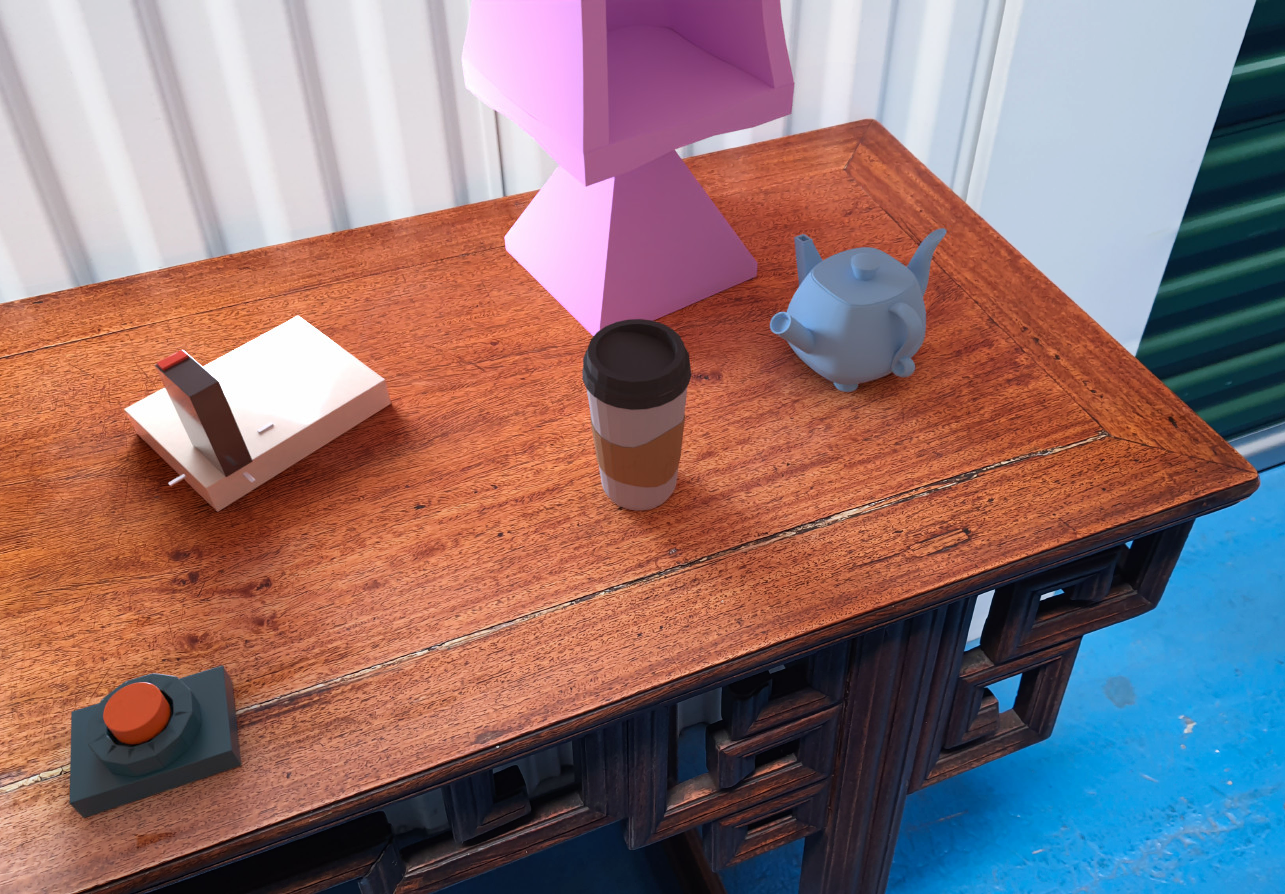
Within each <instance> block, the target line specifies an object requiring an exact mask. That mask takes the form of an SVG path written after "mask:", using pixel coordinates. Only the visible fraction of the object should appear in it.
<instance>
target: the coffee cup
mask: <svg viewBox="0 0 1285 894" xmlns="http://www.w3.org/2000/svg"><path fill="white" fill-rule="evenodd" d="M581 374H582V381H583V384H584V386H585V388H586V389H585V390H586V394H587V400H588V405H589V406H588V407H589V413H590V427H591V432H592V438H593V444H594V445H593V446H594V451H595V458H596V462H597V464H598V469H599V470H598V471H599V475H600V483H601V486H602V489H603V493H605V495H606V496H607V497H608V498H609V499H610V500H611V502H613V504H616V505H617V506H618V507H621V508H623V509H625V510H629V511H630V510H631V511H637V512H638V511H649V510H652V509H655V508H657V507H659V506H661V505H662V504H664V503H665V502H666V501H667V500H669V498H670V497H671V496H672V495H673V493H674V491H675V490H676V486H677V484H678V483H677V482H678V474H679V467H680V466H679V465H680V461H681V457H682V447H683V439H684V432H685V431H684V430H685V422H686V404H687V396H688V386H689V385H690V383H691V378H692V368H691V359H690V353H689V350H688V349H687V347H686V346H685V343H684V341H683V339H682V337H681V335H680V334H679V333H678V332H676V331H675V329H673V328H672V327H670V326H668V325H666V324H664V323H661V322H658V321H655V320H653V321H652V320H644V319H630V320H624V321H619V322H615V323H613V324H610V325H608V326H606V327H604V328H603V329H601V330H600V331H598V332H597V333H596V334H595V335H594V336H593V335H592V338H590V340H589V343H588V346H587V348H586V349H585V353H584V356H583V359H582V373H581Z"/></svg>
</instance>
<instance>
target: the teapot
mask: <svg viewBox="0 0 1285 894" xmlns="http://www.w3.org/2000/svg"><path fill="white" fill-rule="evenodd" d="M946 234H947V229H946V228H944V227H942V228H938V229H935V230H933V231H931V232H930V233H929V234H928V235H927V236H926V237H924V239H923V240H922V241H921V242H920V244H919V246H918V247H917V249H916V251H915V252H914V254H913V256H912V257H911V259H910V261H909V262H908V264H907V265H905V264H903V263H902V262H901V261H899V260H898V259H896V258H895V257H893V256H891V255H890V254H888V253H887V252H885V251H882V250H881V249H878V248H876V247H869V246H865V247H863V246H862V247H856V248H851V249H847V250H843V251H840V252H838V253H834V254H833V255H830V256H828V257H827V258H825V259H822V257H821V255H820V252H819V251H818V249H817V247H816V245H815V243H814V242H813V241H814V239H813V238H811V237H809V236H808V235H806V233H802V234H799V235H796V236H794V237H793V238H794V239H793V240H794V250H795V251H794V252H795V259H796V269H797V280H798V287H797V289H796V291H795V292H794V294H793V295H792V298H791V300H790V302H789V304H788V307H787V309H786V311H779V312H776V313H775V314H774V315H773V316H772V317H771V319H770V322H769V329H770V331H771V332H772V334H773V333H774V334H775V335H776V336H778V337H779V338H782V339H783V340H784V341H786V342H787V343H788V345H789V347H790V348H791V349H792V351H793V353H795V355H796V356H797V357H798V358H799V359H800V360H801V361H802V362H803V363H804V364H805V365H807V366H808V367H809V368H810V369H812V370H813V371H814V372H815V373H816V374H818V375H819V376H821V377H823V378H825V379H826V380H828V381H830V382H831V383H833V386H834V387H835V388H836V389H837V390H838V391H840V392H844V393H851V392H854V391H856V390H857V389H858V387H859V384H864V383H867V382H872V381H875V380H878V379H880V378H884V377H886V376H888V375H889V374H891V373H893V375H895V376H897V377H899V378H909V377H911V376H912V375H913V374H914V373H915V371H916V365H915V361H913V359H912V358H913V357H914V356H915V355H916V354H917V353H918V351H919V350H920V348H921V347H922V346H923V344H924V341H925V337H926V331H927V330H926V329H927V311H926V305H925V301H924V296H925V294H926V291H927V288H928V284H929V278H930V272H931V271H930V270H931V265H932V259H933V256H934V253H935V251H936V249H937V247H938V245H939V244H940V243H941V241H942V240H943V239H944V238H945V236H946Z"/></svg>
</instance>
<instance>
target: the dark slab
mask: <svg viewBox="0 0 1285 894" xmlns="http://www.w3.org/2000/svg"><path fill="white" fill-rule="evenodd" d="M203 367H204V366H202V365H201V364H200V363H199V362H198V361H197V360H195V359H194V357H192V356H191V355H190V354H188V353H187V352H186V351H185V350H184V349H180V350H178V351H176V352H174V353H172V354H170V355H169V356H167V357H165V358H163V359H161V360H159V361H157V362H156V364H154V368H155V370H156V372H157V374H158V376H159V378H160V380H161V382H162V384H163V387H165V389H166V391H167V393H168V395H169V397H170V399H171V401H172V403H173V405H174V407H175V409H176V412H177V414H178V416H179V418H180V420H181V422H182V424H183V426H184V428H185V430H186V433H187V435H188V437H189V439H190V441H191V443H192V445H193V446H194V447H195V448H196V449H197V450H198V451H199V452H200V453H201V454H202V455H203V456H204V457H205V458H206V459H207V460H209V461H210V462H211V463H212V464H213V465H214V466H215V467H216V468H217V469H218V470H219V471H220V472H221V473H222V474H223V475H224V476H225V477H228V476H230V475H231V474H233V473H234V472H236V471H238V470H239V469H241V468H243V467H244V466H246V465H248V464H249V463H251V462H253V460H252V458H251V456H250V453H249V451H248V449H247V446H246V444H245V441H244V439H243V437H242V434H241V432H240V430H239V427H238V425H237V423H236V420H235V418H234V415H233V413H232V411H231V408H230V406H229V404H228V401H227V399H226V396H225V394H224V392H223V389H222V387H221V385H220V382H219V381H218V380H217V379H216V378H215V377H214V376H213V375H211V374H210V373H209V372H208V371H207V370H206V369H205V368H203Z"/></svg>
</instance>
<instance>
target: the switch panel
mask: <svg viewBox="0 0 1285 894" xmlns="http://www.w3.org/2000/svg"><path fill="white" fill-rule="evenodd" d="M202 367H203V368H205V369H206V370H207V371H208V372H209V373H210V374H211V375H213V376H214V377H215V378H216V379H217V380H218V381H219V382H220V385H221V387H222V389H223V392H224V394H225V396H226V399H227V401H228V404H229V406H230V408H231V411H232V413H233V415H234V418H235V420H236V423H237V425H238V427H239V430H240V432H241V434H242V437H243V439H244V441H245V444H246V446H247V449H248V451H249V453H250V456H251V458H252V460H253V462H251V463H249V464H248V465H246V466H244V467H243V468H241V469H239V470H238V471H236V472H234V473H233V474H231V475H230V476H228V477H225V476H224V475H223V474H222V473H221V472H220V471H219V470H218V469H217V468H216V467H215V466H214V465H213V464H212V463H211V462H210V461H209V460H207V459H206V458H205V457H204V456H203V455H202V454H201V453H200V452H199V451H198V450H197V449H196V448H195V447H194V446H193V445H192V443H191V441H190V439H189V437H188V435H187V433H186V430H185V428H184V426H183V424H182V422H181V420H180V418H179V416H178V414H177V412H176V409H175V407H174V405H173V403H172V401H171V399H170V397H169V395H168V393H167V391H166V389H165V386H163V388H161V389H159V390H157V391H155V392H153V393H151V394H149V395H148V396H146V397H144V398H142V399H141V400H139V401H136V402H135V403H132V404H131V405H129V406H127V407H125V408H124V409H123V411H124V412H125V414H126V416H127V418H128V420H129V422H130V423H131V426H132V428H133V429H134V431H135V434H137V435H138V436H139V437H140V438H141V439H142V440H143V442H145V444H147V445H148V446H149V447H150V448H151V449H152V450H153V451H154V452H155V453H156V454H157V455H158V456H159V457H160V458H161V459H162V460H164V462H165V463H166V464H168V466H170V467H171V469H173V470H174V471H175V473H177V474H178V475H179V476H177V477H176V478H173V479H172V480H171V481H169V482H168V483H167V484H168V485H169V486H170V487H172V486H174V485H176V484H177V483H179V482H181V481H183V480H184V481H185V482H186V483H187V484H188V485H189V486H190V487H191V488H192V489H193V490H194V491H195V492H196V493H198V495H199V496H200V497H202V499H204V501H205V502H206V503H208V504H209V505H210V506H211V507H212V508H213V509H214V510H215V511H216V513H217V512H220V511H222V510H223V509H225V508H227V507H228V506H229V505H231V504H232V503H234V502H236V501H238V500H239V499H241V498H243V497H244V496H245V495H247V494H249V493H250V492H253V491H254V490H255V489H257V488H258V487H260V486H262V485H264V484H265V483H266V482H268V481H269V480H272V479H273V478H274V477H276V476H278V475H279V474H281V473H282V472H284V471H285V470H287V469H289V468H290V467H292V466H293V465H295V464H297V463H298V462H300V461H301V460H304V459H305V458H307V457H308V456H310V455H312V454H313V453H314V452H316V451H318V450H319V449H321V448H322V447H324V446H326V445H327V444H329V443H330V442H332V441H334V440H335V439H337V438H339V437H340V436H342V435H343V434H345V433H346V432H348V431H350V430H351V429H353V428H354V427H356V426H358V425H359V424H361V423H362V422H364V421H366V420H367V419H369V418H370V417H372V416H374V415H375V414H377V413H378V412H380V411H382V410H383V409H385V408H387V407H388V406H390V405H391V404H392V401H391V395H390V393H389V389H388V385H387V382H386V381H387V380H386V379H385V378H384V377H383V376H381V375H379V373H377V372H376V371H374V370H373V369H371V368H370V366H367V365H366V364H365V363H364V362H362V361H361V360H359V358H357V357H356V356H354V355H353V354H351V353H350V352H348V351H347V350H346V349H345V348H343V347H341V346H340V345H339V344H338V343H336V342H335V341H333V340H332V339H331V338H329V337H328V336H327V335H325V334H324V333H322V332H321V331H320V330H319V329H318V328H316V327H314V326H313V325H312V324H310V323H309V322H307V321H306V320H305V319H303V318H302V317H301V316H300V315H296V316H294V317H293V318H290V319H289V320H288V321H286V322H283V323H282V324H280V325H278V326H276V327H274V328H272V329H271V330H269V331H267V332H265V333H263V334H260V335H259V336H258V337H256V338H254V339H252V340H250V341H248V342H246V343H244V344H242V345H240V346H239V347H237V348H235V349H234V350H231V351H229V352H228V353H226V354H224V355H222V356H220V357H218V358H216V359H214V360H213V361H211V362H209V363H208V364H205V365H204V366H202Z"/></svg>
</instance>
